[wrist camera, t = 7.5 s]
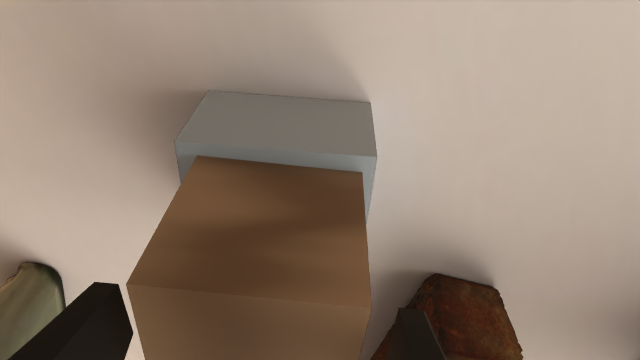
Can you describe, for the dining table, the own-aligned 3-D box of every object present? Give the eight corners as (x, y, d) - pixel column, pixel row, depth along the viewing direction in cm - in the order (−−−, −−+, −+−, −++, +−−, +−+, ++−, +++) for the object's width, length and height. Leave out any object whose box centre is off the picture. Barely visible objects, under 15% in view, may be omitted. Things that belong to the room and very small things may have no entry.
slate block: (370, 100, 16) (377, 156, 12) (353, 222, 19) (355, 292, 16) (210, 88, 16) (174, 141, 12) (222, 212, 19) (196, 279, 16)
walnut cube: (362, 172, 13) (371, 307, 9) (342, 284, 15) (341, 426, 11) (197, 155, 13) (126, 284, 8) (207, 270, 15) (158, 408, 11)
